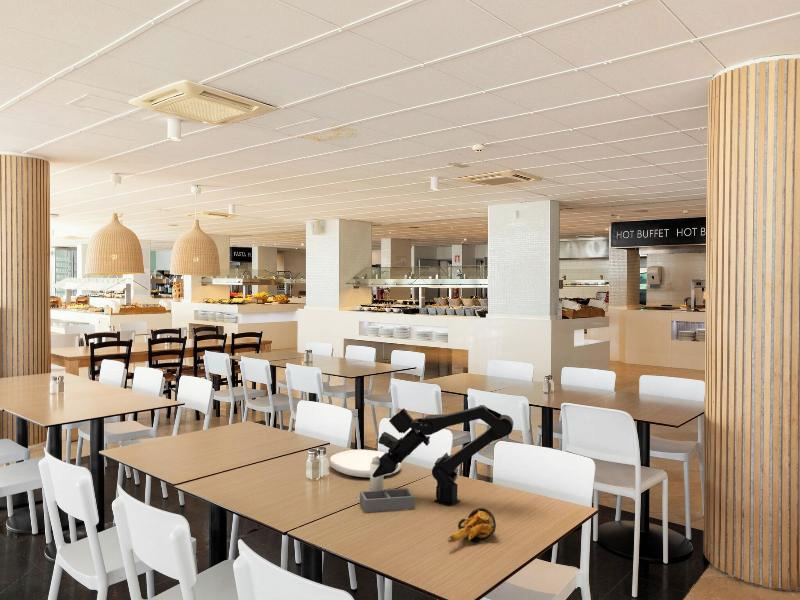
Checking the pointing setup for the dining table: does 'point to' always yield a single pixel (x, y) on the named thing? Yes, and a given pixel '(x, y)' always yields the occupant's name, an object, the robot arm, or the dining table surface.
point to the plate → (356, 462)
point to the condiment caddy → (387, 500)
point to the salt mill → (377, 481)
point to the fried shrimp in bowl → (475, 527)
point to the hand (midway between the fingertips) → (376, 472)
